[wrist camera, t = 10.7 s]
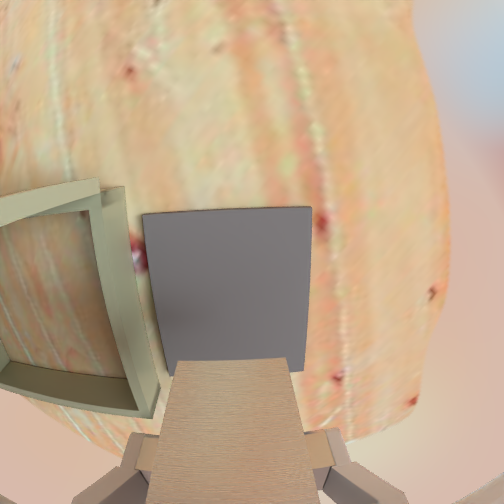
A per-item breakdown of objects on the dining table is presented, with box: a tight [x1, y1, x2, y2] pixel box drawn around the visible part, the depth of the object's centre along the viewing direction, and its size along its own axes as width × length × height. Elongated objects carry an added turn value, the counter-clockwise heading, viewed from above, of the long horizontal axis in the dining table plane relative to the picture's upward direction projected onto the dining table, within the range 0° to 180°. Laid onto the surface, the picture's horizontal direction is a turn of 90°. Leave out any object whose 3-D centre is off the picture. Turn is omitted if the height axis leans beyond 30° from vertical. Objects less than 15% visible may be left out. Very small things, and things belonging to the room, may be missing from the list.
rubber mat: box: [142, 206, 312, 376], centre depth 19 cm, size 10×12×1 cm
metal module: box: [145, 357, 320, 504], centre depth 7 cm, size 4×4×8 cm
